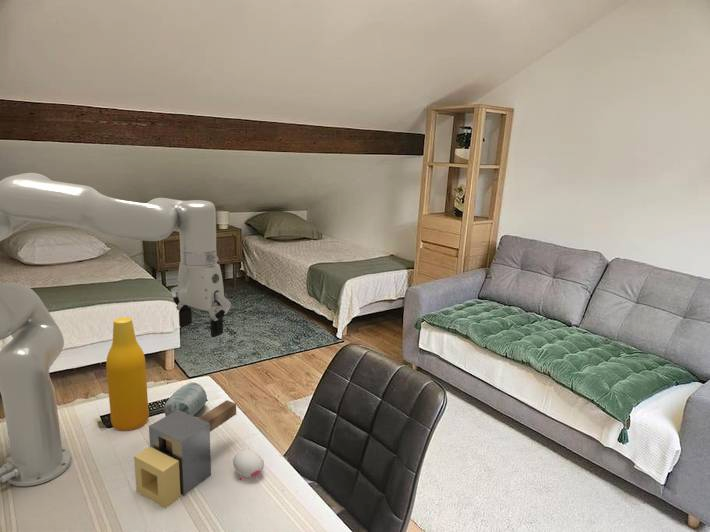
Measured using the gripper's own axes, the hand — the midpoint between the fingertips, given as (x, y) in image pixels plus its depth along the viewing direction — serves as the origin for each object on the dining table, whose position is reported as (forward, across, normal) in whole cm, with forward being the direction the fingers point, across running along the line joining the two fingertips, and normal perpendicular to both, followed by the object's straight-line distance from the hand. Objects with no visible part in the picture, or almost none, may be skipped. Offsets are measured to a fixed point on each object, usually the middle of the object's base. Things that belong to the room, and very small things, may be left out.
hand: (201, 330), depth 111 cm
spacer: (+32, -2, +16) cm, 36 cm away
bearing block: (+32, -2, +9) cm, 34 cm away
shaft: (+24, -2, +2) cm, 24 cm away
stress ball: (+33, -14, 0) cm, 35 cm away
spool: (+33, +16, -9) cm, 37 cm away
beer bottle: (+32, +26, +1) cm, 42 cm away
